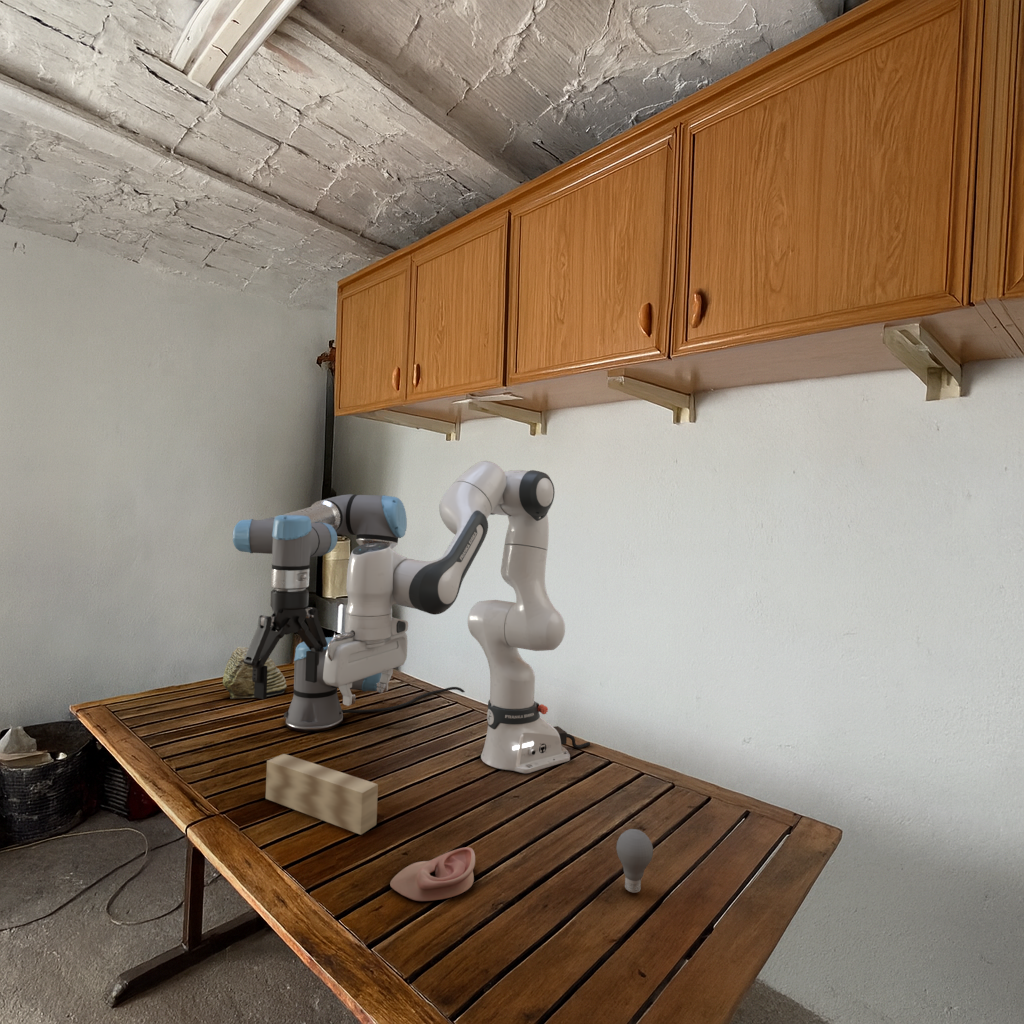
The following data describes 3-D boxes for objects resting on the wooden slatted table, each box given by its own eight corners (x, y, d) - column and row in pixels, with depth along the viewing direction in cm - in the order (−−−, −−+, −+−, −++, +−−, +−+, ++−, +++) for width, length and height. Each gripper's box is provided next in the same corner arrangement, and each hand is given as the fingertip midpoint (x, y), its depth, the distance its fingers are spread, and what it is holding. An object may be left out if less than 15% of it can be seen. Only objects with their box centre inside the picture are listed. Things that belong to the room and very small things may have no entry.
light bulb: (610, 879, 108) (613, 822, 108) (644, 879, 109) (647, 822, 109) (619, 902, 102) (622, 840, 102) (655, 901, 103) (658, 840, 103)
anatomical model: (383, 870, 101) (409, 834, 113) (382, 895, 101) (408, 856, 113) (463, 884, 99) (481, 845, 110) (461, 909, 99) (480, 868, 110)
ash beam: (265, 798, 132) (266, 760, 132) (282, 790, 136) (283, 753, 136) (360, 834, 120) (362, 793, 119) (376, 824, 123) (378, 784, 123)
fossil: (218, 695, 195) (220, 647, 195) (278, 685, 208) (279, 640, 207) (228, 703, 189) (230, 653, 188) (289, 692, 201) (290, 645, 201)
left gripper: (252, 598, 120) (249, 709, 121) (345, 584, 142) (342, 678, 143) (226, 593, 123) (223, 701, 124) (320, 581, 146) (317, 672, 146)
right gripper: (342, 639, 112) (339, 716, 112) (413, 621, 130) (411, 688, 130) (316, 634, 115) (313, 709, 115) (389, 617, 133) (387, 682, 133)
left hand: (286, 689), depth 133 cm, fingers open, 13 cm apart
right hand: (366, 697), depth 123 cm, fingers open, 8 cm apart
